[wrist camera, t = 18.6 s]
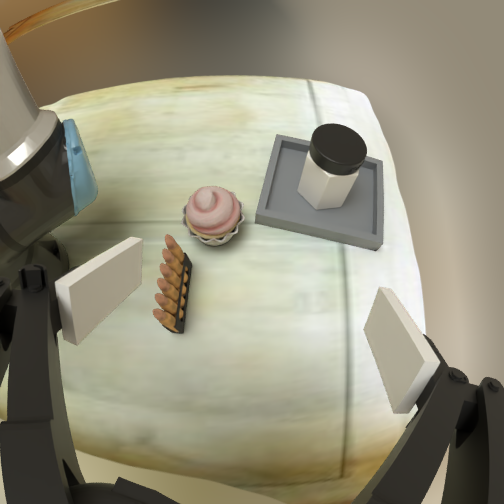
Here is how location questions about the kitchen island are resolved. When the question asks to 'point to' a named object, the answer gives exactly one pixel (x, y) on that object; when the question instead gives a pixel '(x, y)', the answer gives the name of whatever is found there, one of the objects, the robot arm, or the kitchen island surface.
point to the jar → (331, 165)
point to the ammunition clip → (173, 287)
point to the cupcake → (213, 215)
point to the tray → (323, 220)
